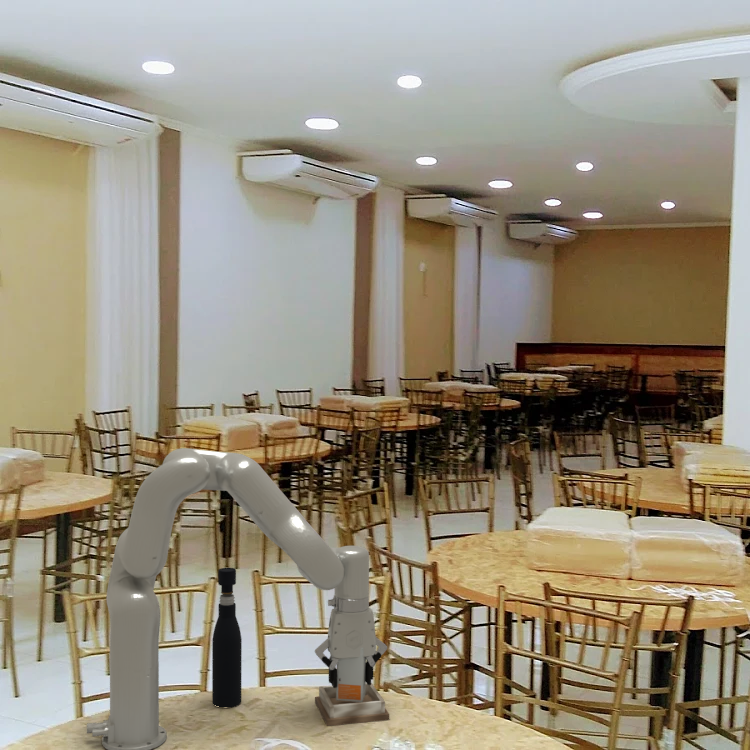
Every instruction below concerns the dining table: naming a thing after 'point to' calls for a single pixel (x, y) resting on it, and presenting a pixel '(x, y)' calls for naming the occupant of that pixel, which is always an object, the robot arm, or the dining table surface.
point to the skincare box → (351, 678)
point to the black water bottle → (226, 646)
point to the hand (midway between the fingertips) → (351, 683)
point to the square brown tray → (351, 707)
